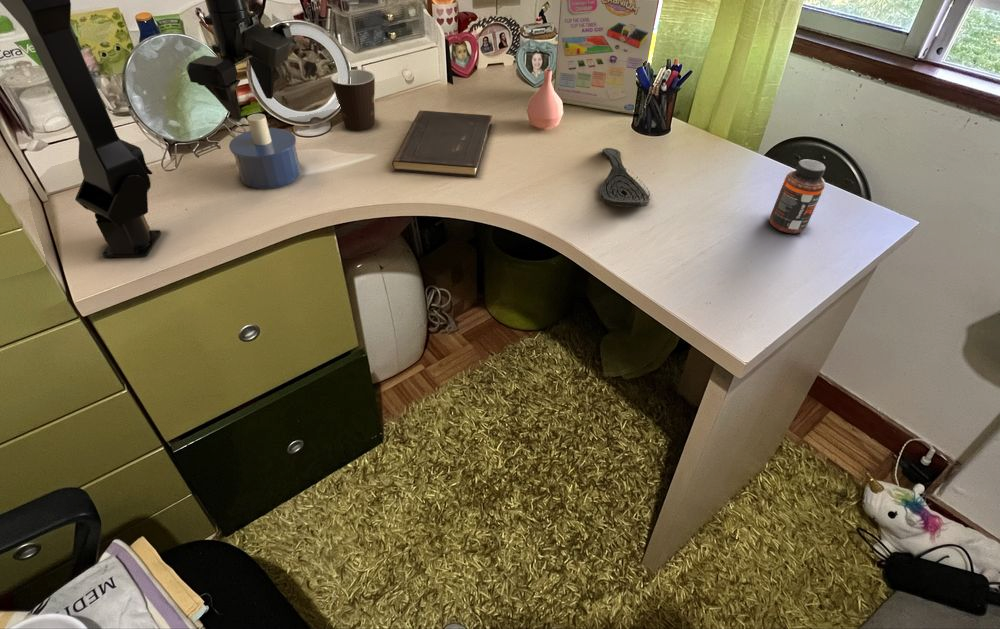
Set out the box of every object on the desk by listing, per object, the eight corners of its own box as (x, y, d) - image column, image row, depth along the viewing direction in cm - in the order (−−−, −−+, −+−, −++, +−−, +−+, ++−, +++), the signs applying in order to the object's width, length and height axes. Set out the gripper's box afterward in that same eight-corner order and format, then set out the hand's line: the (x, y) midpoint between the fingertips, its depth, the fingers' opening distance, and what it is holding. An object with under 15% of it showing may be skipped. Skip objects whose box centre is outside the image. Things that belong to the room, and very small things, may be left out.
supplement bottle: (801, 239, 96) (829, 177, 88) (764, 228, 98) (788, 166, 90) (808, 222, 100) (835, 162, 92) (772, 212, 102) (796, 152, 94)
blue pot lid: (289, 162, 100) (282, 131, 96) (222, 162, 99) (212, 131, 95) (302, 133, 108) (295, 103, 104) (240, 133, 107) (231, 103, 103)
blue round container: (294, 188, 103) (287, 157, 99) (234, 189, 103) (225, 158, 99) (305, 161, 111) (299, 131, 107) (249, 161, 110) (241, 131, 106)
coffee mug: (371, 135, 120) (365, 86, 113) (332, 130, 121) (323, 82, 114) (390, 113, 129) (385, 66, 122) (353, 109, 130) (347, 62, 123)
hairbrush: (630, 138, 116) (659, 198, 96) (627, 156, 118) (654, 217, 99) (589, 138, 116) (609, 197, 96) (587, 155, 118) (606, 217, 98)
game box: (643, 108, 134) (669, -26, 116) (639, 117, 130) (665, -20, 112) (557, 93, 139) (569, -37, 121) (550, 101, 136) (562, -31, 117)
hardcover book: (491, 125, 125) (491, 115, 124) (476, 177, 108) (476, 166, 107) (418, 120, 126) (417, 110, 125) (392, 171, 109) (391, 159, 108)
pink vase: (538, 116, 129) (542, 61, 121) (568, 126, 126) (574, 69, 118) (518, 128, 124) (521, 71, 116) (549, 138, 121) (554, 80, 113)
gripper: (236, 31, 80) (264, 138, 90) (307, -2, 93) (324, 94, 104) (168, 22, 82) (203, 128, 93) (246, -9, 95) (269, 86, 106)
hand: (254, 108), depth 99 cm, fingers open, 9 cm apart
